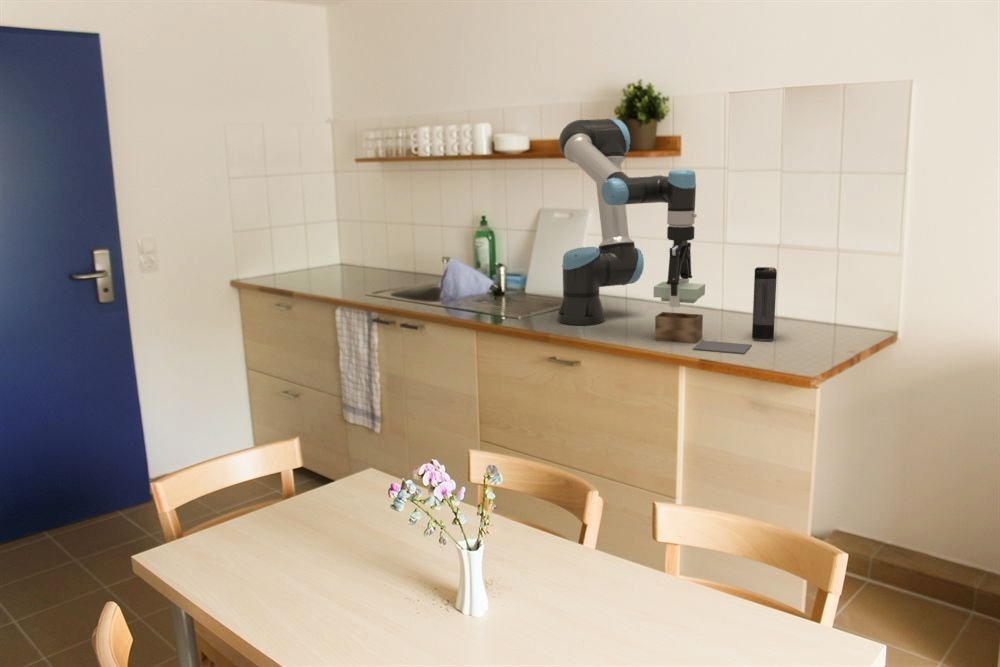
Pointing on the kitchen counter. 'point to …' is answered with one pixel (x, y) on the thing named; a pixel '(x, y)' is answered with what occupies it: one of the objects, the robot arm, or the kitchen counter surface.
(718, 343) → the mat
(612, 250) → the robot arm
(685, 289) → the block
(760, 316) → the electronic device
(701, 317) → the crate
